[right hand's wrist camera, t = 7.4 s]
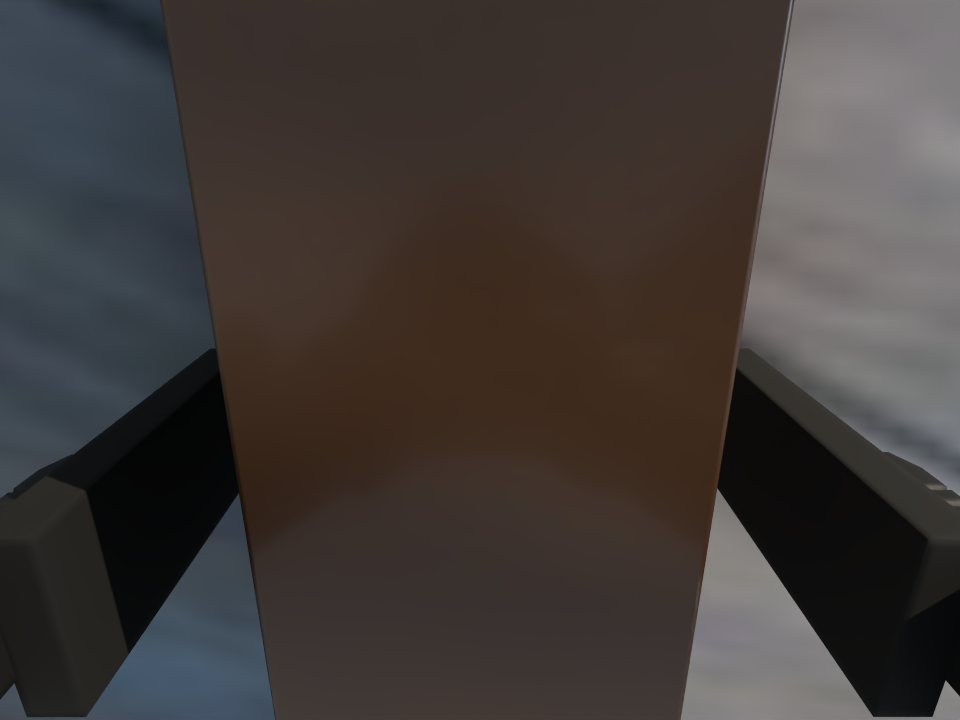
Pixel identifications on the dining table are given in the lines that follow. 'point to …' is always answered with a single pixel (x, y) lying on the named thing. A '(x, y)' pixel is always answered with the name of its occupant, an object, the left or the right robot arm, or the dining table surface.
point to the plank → (477, 333)
